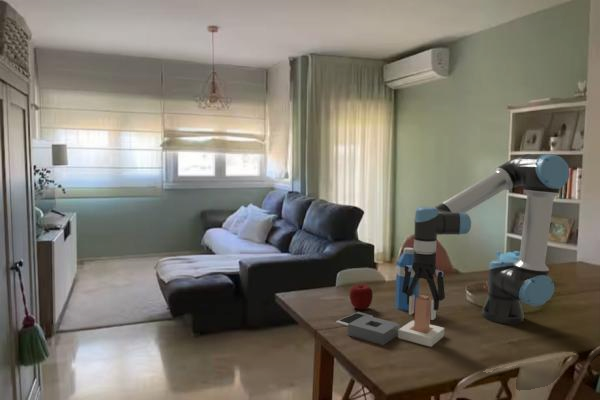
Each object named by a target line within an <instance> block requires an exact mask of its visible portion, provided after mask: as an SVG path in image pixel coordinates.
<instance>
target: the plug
mask: <svg viewBox="0 0 600 400" xmlns="http://www.w3.org/2000/svg"><path fill="white" fill-rule="evenodd" d="M431 301H432V298H431V297H430V296H429V295H428V296H427V295H424V294H420V295H419V296H418V297H417V298H416V304H415V310H414V331H418V332H422V333H426V334H427V333H428V332H429V327H430V325H431V323H430V322H431Z"/></svg>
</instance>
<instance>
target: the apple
mask: <svg viewBox="0 0 600 400" xmlns="http://www.w3.org/2000/svg"><path fill="white" fill-rule="evenodd" d="M373 294H374V293H373V289H372V288H371V286H369V285H368V284H361V283H359V284H354V285H353V286H352V287H350V291H349V300H350V303H351V305H352V306H353V308H355V309H358V310H362V311H363V310H367V309H369V307H370V306H371V303H372V301H373Z"/></svg>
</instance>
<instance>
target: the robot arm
mask: <svg viewBox="0 0 600 400" xmlns="http://www.w3.org/2000/svg"><path fill="white" fill-rule="evenodd" d="M569 178H570V167H569V165H568V163H567V162H566V160H565V159H564V158H563V157H561V156H559V155H556V154H549V153H547V154H546V153H544V154H543V153H542V154H531V153H527V154H522V155H519V156H516V157H514V158H512V159H510V160H508V161H506V162H505V163H503V164H501V165H499V166H498V167H496V168H495V169H494V170H493V173H491V174H489V175H487V176H486V177H484V178H483V179H481V180H479V181H478V182H476V183H474V184H472V185H470V186H469V187H466V188H465V189H463V190H462V191H460V192H458V193H457V194H455V195H453V196H451V197H450V198H448V199H446V200H445V201H442V202H441V203H439V204H438V205H436V206H433V207H432V206H418V207H417V208H415V213H414V214H415V215H414V237H413V238H414V239H413V249H414V255H413V265H412V266H410V265H407V266H405V267H404V268H405V277H404V283H403V288H402V292H403V293H405V294H407V304H409V311H408V315H409V316H411V315H413V314H415V310H414V299H415V295H412V294H413V291H414V289H415V287H416V285H417V283H418V281H419V282H420V279H424V280H426V283H428V286H429V290H430V292H431V295H432V299H431V311H430V321H433V320H435V319H436V318H437V311H438V310H439V309H440V301H443V300H445V299H446V296H445V286H444V285H445V283H444V276H445V270H440V269H437V267H436V262H437V260H436V259H437V253H436V252H437V242H438V241H437V238H438V236H441V235H458V236H459V235H466V234H468V233H469V232H470V230H471V228H472V219H471V217H470V215H469V214H467V212H469V211H470V210H473V208H474V209H475V208H476V207H477V206H479V205H481V204H482V203H484V202H486V201H488V200H490V199H491V198H492V197H494V196H497V195H498V194H499V193H501V192H504V191H505V190H506V191H510V190H512V189H513V188H517V187H520V186H523V189H522V190H523V193H525V195H526V203H525V211H524V217H523V226H522V234H521V241H520V247H519V252H520V255H519V260H518V261H517V260H498V259H494V260H491V261H490V263H489V267H488V285H487V286H488V289H487V298H486V299H485V302H484V305H483V307H482V311H481V313H482V314H481V315H482V317H483V318H485V319H487V320H489V321H492V322H495V323H499V324H506V325H507V324H508V325H509V324H510V325H511V324H512V325H513V324H515V325H516V324H521V323H522V322H524V316H525V314H524V311H523V310H524V309H523V307H522V304H521V302H522V303H523V304H526V305H530V306H534V307H536V306H541V305H544V304H545V303H546V302H547V301H549V300H551V298H552V296H553V294H554V291H555V284H554V282H553V281H552V278H550V277H549V273H550V272H549V271H550V268H549V267H548V266H547V264H546V257H547V252H548V245H549V235H550V230H551V229H550V227H551V223H552V222H551V221H552V214H553V206H554V199H555V197H557V196H558V195H560V190H561V188H563V187H564V186H565V185H566V184H567V183H568V181H569ZM412 269H413V271H414V272H415V275H414V277H413V281H412V283H411V285H410V287H409V282H410V276H411V271H412ZM434 274H436V277H437V278H436V281H437V282H436V281H435V277H434ZM436 283H437V285H436ZM408 288H409V290H408Z"/></svg>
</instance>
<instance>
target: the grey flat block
mask: <svg viewBox="0 0 600 400" xmlns="http://www.w3.org/2000/svg"><path fill="white" fill-rule="evenodd" d="M400 326H401V325H400V323H399V322H394V321H390V320H387V319H382V318H378V317H375V316H373V317H371V316H367V315H364V316H362V317H360V318H358V319H357V320H355V321H353V322H351V323H349V324H348V326H347V336H350V337H353V338H357V339H361V340H363V341H368V342H371V343H374V344H378V345H381V346H384V345H385V344H388V343H389V342H391V341H392V340H394V339H395V338H397V337H398V329H400Z"/></svg>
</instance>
